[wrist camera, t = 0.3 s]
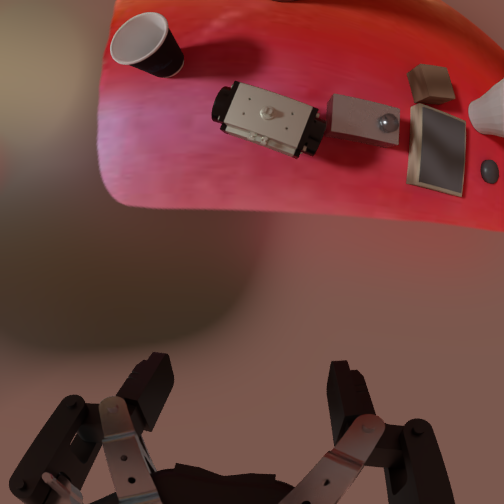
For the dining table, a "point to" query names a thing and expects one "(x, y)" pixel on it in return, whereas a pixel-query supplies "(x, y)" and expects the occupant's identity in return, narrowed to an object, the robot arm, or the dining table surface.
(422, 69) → the walnut block
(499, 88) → the cup
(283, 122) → the pneumatic valve
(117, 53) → the dixie cup
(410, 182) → the stand
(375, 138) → the block
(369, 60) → the dining table surface
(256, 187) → the dining table surface
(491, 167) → the black cap
